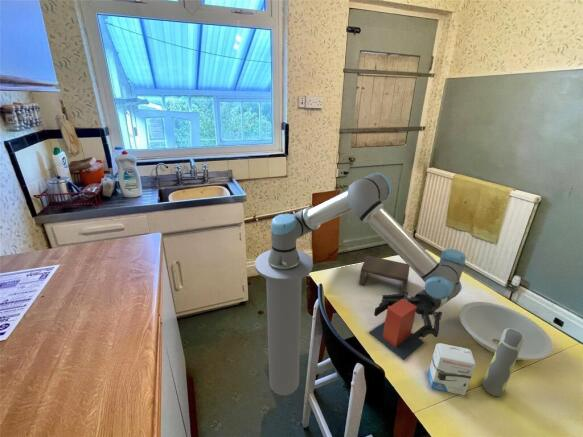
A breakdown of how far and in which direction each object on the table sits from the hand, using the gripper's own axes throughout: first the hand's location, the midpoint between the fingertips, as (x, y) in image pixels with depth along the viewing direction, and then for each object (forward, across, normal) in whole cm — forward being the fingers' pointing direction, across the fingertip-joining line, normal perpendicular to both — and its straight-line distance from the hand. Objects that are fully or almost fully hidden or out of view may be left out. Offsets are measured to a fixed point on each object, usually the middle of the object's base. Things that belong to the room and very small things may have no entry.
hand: (393, 324), depth 89 cm
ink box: (0, -18, -8) cm, 20 cm away
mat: (-3, 0, -7) cm, 8 cm away
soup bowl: (-28, -20, -8) cm, 35 cm away
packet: (-3, 0, -7) cm, 8 cm away
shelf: (-25, +22, -8) cm, 34 cm away
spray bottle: (-9, -26, -8) cm, 29 cm away
